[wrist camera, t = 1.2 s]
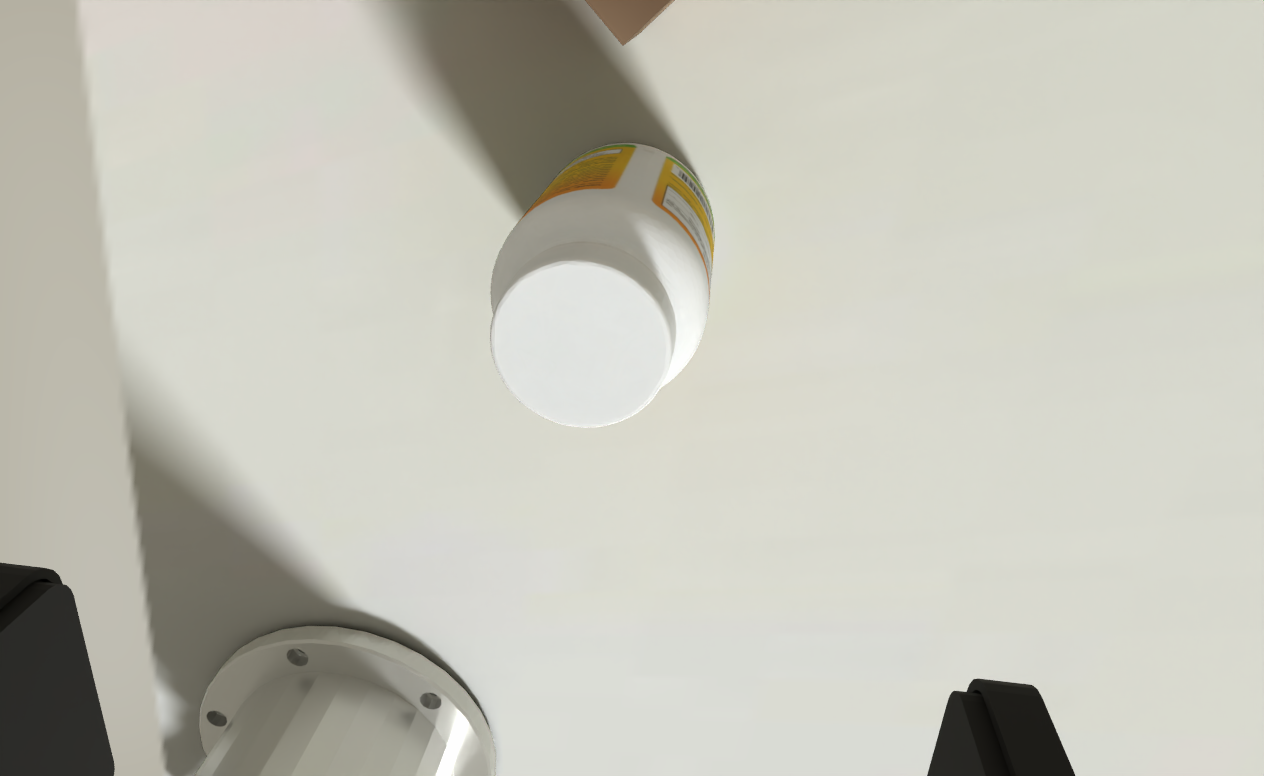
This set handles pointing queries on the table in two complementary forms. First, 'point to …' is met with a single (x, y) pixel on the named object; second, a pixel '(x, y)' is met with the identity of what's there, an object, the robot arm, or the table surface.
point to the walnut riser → (628, 15)
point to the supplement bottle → (603, 286)
